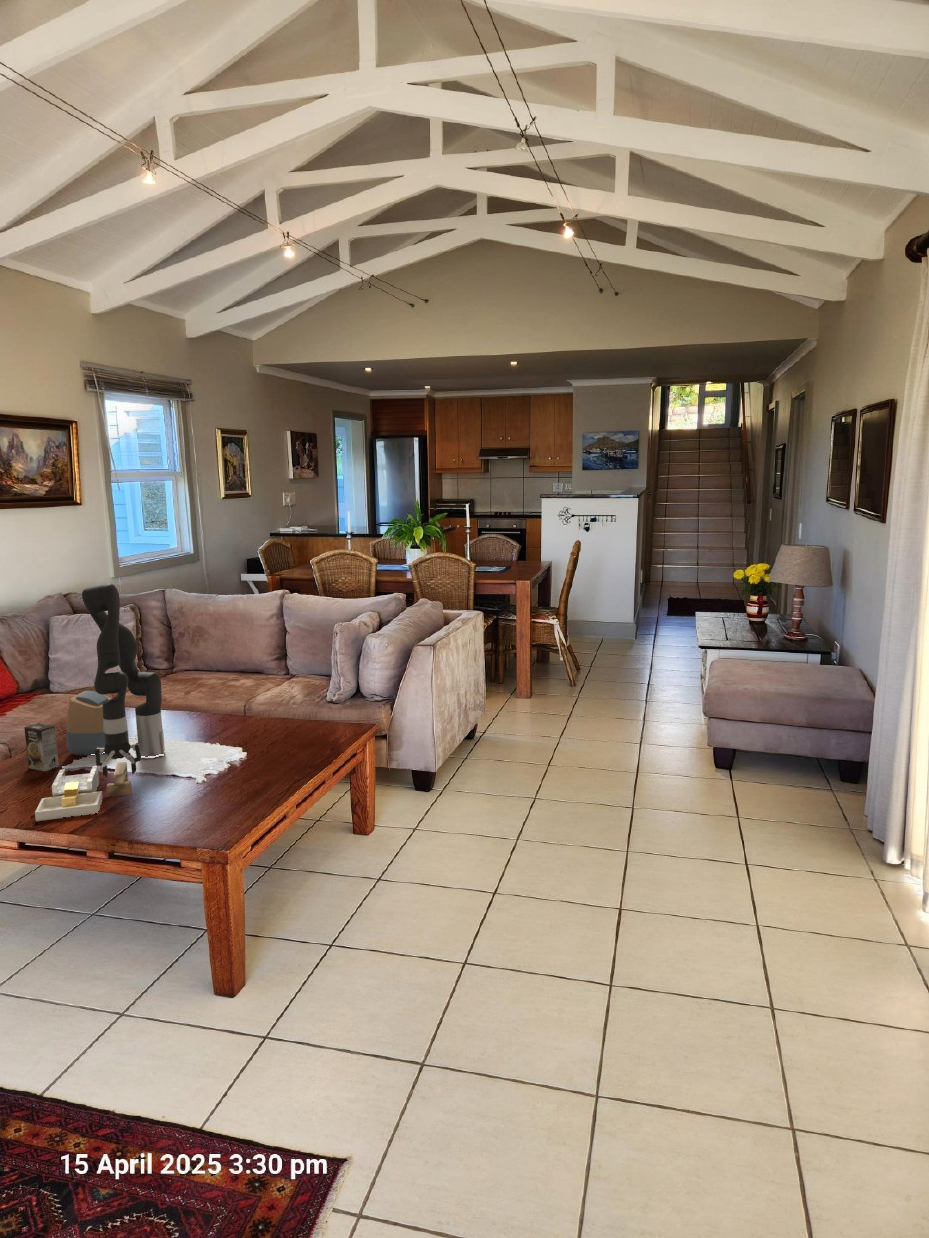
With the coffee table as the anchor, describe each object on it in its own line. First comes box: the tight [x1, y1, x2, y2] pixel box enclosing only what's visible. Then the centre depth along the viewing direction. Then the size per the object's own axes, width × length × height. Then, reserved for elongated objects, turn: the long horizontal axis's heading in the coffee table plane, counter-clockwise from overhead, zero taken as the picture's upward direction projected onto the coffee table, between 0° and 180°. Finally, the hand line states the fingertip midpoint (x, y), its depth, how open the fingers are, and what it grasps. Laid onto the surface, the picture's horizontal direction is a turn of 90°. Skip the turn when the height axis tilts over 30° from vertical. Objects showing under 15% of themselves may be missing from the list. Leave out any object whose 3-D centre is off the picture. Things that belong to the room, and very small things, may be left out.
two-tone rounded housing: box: [65, 690, 112, 756], centre depth 316 cm, size 17×17×23 cm
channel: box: [51, 765, 100, 797], centre depth 272 cm, size 12×16×6 cm
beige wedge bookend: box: [106, 761, 133, 798], centre depth 276 cm, size 8×14×7 cm, turn 18°
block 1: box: [64, 782, 80, 799], centre depth 262 cm, size 4×4×4 cm
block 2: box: [61, 793, 78, 808], centre depth 258 cm, size 4×4×4 cm
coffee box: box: [23, 722, 60, 772], centre depth 298 cm, size 9×6×16 cm
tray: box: [34, 790, 104, 822], centre depth 258 cm, size 18×12×3 cm, turn 108°
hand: (120, 774), depth 275 cm, fingers open, 8 cm apart
